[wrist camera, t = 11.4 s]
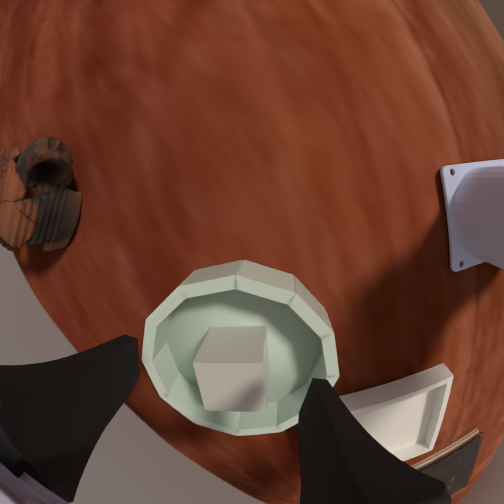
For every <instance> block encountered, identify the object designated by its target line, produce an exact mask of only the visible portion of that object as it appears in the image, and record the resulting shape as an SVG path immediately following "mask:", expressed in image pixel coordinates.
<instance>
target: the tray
mask: <svg viewBox="0 0 504 504" xmlns="http://www.w3.org/2000/svg"><path fill="white" fill-rule="evenodd" d="M452 381H453V374H452V373H451V372H450V371H449V369H448V368H447V367H446V366H445V364H444V363H441V364H439V365H437V366H434V367H432V368H429V369H426V370H424V371H421V372H419V373H416V374H413V375H410V376H407V377H405V378H402V379H399V380H396V381H393V382H389V383H386V384H383V385H380V386H376V387H373V388H369V389H366V390H362V391H358V392H354V393H350V394H346V395H342V396H339V397H340V398H341V400H342V401H343V403H344V404H345V405H346V407H347V408H348V409H349V411H350V412H351V413H352V414H353V416H354V417H355V418H356V419H357V421H358V422H359V423H360V424H361V425H362V426H363V427H364V428H365V430H366V431H367V432H368V433H369V434H370V435H371V436H372V437H373V438H374V439H375V440H377V441H378V442H379V443H380V444H381V445H382V446H383V447H384V448H386V449H387V450H388V451H389V452H391V453H392V454H393V455H395V456H396V457H397V458H399V459H400V460H402V461H405V460H408V459H411V458H413V457H416V456H418V455H421V454H423V453H426V452H428V451H430V450H432V449H433V447H434V444H435V441H436V438H437V435H438V432H439V429H440V426H441V423H442V420H443V416H444V413H445V409H446V406H447V402H448V398H449V394H450V390H451V385H452Z"/></svg>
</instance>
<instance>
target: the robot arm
mask: <svg viewBox="0 0 504 504" xmlns="http://www.w3.org/2000/svg"><path fill="white" fill-rule="evenodd" d="M450 169H451V170H452V175H451V174H450ZM440 175H441V180H442V186H443V192H444V198H445V206H446V213H447V222H448V233H449V247H450V267H451V270H453V271H454V272H458V271H461V270H464V269H466V268H469V267H472V266H475V265H478V264H480V263H483V262H487V263H490V264H492V265H494V266H497V267H499V268H501V269H503V270H504V159H501V160H491V161H481V162H472V163H464V164H456V165H449V166H443V167H442V168H441V170H440ZM460 262H461V265H460ZM459 265H460V266H459ZM139 376H140V375H139V357H138V339H137V338H134V337H131V336H128V335H123V336H120V337H118V338H115V339H113V340H110V341H108V342H105V343H103V344H101V345H98V346H96V347H93V348H91V349H88V350H86V351H83V352H80V353H77V354H74V355H71V356H68V357H65V358H61V359H58V360H53V361H49V362H43V363H37V364H28V365H13V366H12V365H0V504H70V503H69V502H73V501H74V497H75V494H76V491H77V487H78V485H79V481H80V479H81V476H82V474H83V471H84V469H85V467H86V464H87V462H88V460H89V458H90V455H91V453H92V451H93V449H94V447H95V445H96V443H97V441H98V440H99V438H100V436H101V434H102V432H103V431H104V429H105V428H106V426H107V425H108V423H109V422H110V421H111V419H112V418H113V416H114V415H115V414H116V412H117V411H118V410H119V408H120V407H121V406H122V404H123V403H124V401H125V400H126V399H127V397H128V396H129V394H130V393H131V391H132V389H133V387H134V386H135V384H136V382H137V380H138V378H139ZM298 442H299V455H300V467H301V496H300V504H450V503H451V497H450V494H449V492H448V489H447V487H446V484H445V482H443V481H441V480H438V479H436V478H433V477H431V476H429V475H426V474H424V473H422V472H420V471H418V470H417V469H415V468H413V467H411V466H410V465H408V464H406V463H405V462H403V461H402V460H400V459H399V458H397V457H396V456H395V455H393V454H392V453H391V452H389V451H388V450H387V449H386V448H384V447H383V446H382V445H381V444H380V443H379V442H378V441H377V440H375V439H374V438H373V437H372V436H371V435H370V434H369V433H368V432H367V431H366V430H365V428H364V427H363V426H362V425H361V424H360V423H359V422H358V421H357V419H356V418H355V417H354V416H353V414H352V413H351V412H350V411H349V409H348V408H347V407H346V405H345V404H344V403H343V401H342V400H341V398H340V397H339V396H338V394H337V393H336V391H335V390H334V388H333V387H332V386H331V384H330V383H329V381H328V380H327V379H319V378H312V381H311V383H310V386H309V388H308V391H307V393H306V396H305V398H304V401H303V403H302V406H301V408H300V411H299V418H298Z"/></svg>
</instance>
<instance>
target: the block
mask: <svg viewBox="0 0 504 504" xmlns="http://www.w3.org/2000/svg"><path fill="white" fill-rule="evenodd" d="M193 365H194V369H195V373H196V377H197V381H198V385H199V389H200V393H201V397H202V400H203V404H204V408H205V410H211V411H232V412H267V405H268V392H269V378H270V364H269V351H268V339H267V327H266V325H264V326H237V327H210V329H209V331H208V333H207V335H206V337H205V339H204V341H203V343H202V345H201V347H200V349H199V351H198V353H197V355H196V357H195V359H194V361H193Z"/></svg>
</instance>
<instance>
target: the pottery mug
mask: <svg viewBox="0 0 504 504" xmlns="http://www.w3.org/2000/svg"><path fill="white" fill-rule="evenodd" d="M72 164H73V160H72V154H71V151H70V149H69V148H68V146H67V145H66V144H65V143H64V142H62V141H61V140H60V139H58V138H55V137H49V136H45V137H41V138H38V139H36V140H35V141H34V142H32V143H31V144H30V145H29V146H28V147H27V149H26V150H24V151H20V150H19V148H18V147H17V148H15V149H14V150H12V151H11V150H7V149H6V148H2V150H1V152H0V243H1V244H2V246H3V247H5V248H7V249H8V250H9V251H12V250H13V248H12V247H22V246H23V245H25V244H26V243H27V244H28V245H36V244H42V243H44V245H43V246H42V248H43V250H44V251H51V250H55V249H58V248H64V247H65V246H66V245H67V244H68V243H69V241H70V238H71V237H72V235H73V232H74V230H75V228H76V224H77V221H78V218H79V214H80V207H81V200H82V193H80V192H75V191H73V190H70V189H67V188H66V187H67V186H68V185H69V184H70V183H71V181H72V179H73V176H74V173H73V170H72ZM34 186H35V188H36V190H37V192H38V195H37V196H35V197H31V198H27V188H32V187H34ZM6 242H7V243H8V244H7V243H6ZM9 244H10V245H11V246H10V245H9Z"/></svg>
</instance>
